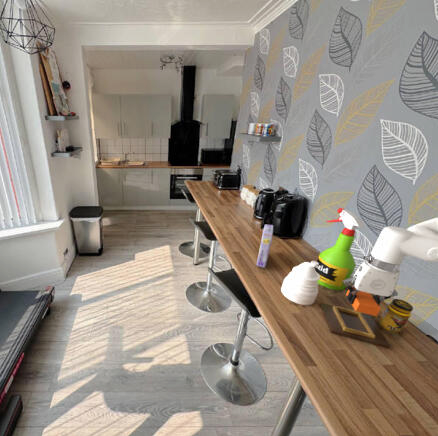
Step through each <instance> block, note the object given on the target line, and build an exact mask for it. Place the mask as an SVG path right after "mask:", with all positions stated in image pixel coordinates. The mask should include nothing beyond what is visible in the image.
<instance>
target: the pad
mask: <svg viewBox="0 0 438 436" xmlns="http://www.w3.org/2000/svg"><path fill="white" fill-rule="evenodd" d="M354 290H355V289H354ZM349 292H350V291H349V289H347V292H346V293H345V296H346V297H347V296H348V294H349ZM356 296H357V297H356V299H355V301H354V303H353V304H351V306H352V308H353V310H354V311H357V312H361V313H365V314H369V315H371V316H374V317H377V316H378V314H379V313H380V311H381V309H382V308H381V307H380V304H379V305H378V304H377V303H376V301H375V300H374V299H373V295H372V294H371V293H366V292H362V291H359V292H358V293H357V294H356Z"/></svg>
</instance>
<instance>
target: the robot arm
mask: <svg viewBox="0 0 438 436" xmlns="http://www.w3.org/2000/svg"><path fill="white" fill-rule="evenodd" d="M406 256H409V257H413V258H416V259H419V260H422V261H425V262H429V263H438V217H434V218H431V219H428V220H425V221H422V222H419V223H416V224H413V225H411V226H409V227H408V228H403V227H400V226H395V225H394V226H393V225H388V226H385V227H383V228H382V230H381V231H380V234H379V236H378V238H377V240H376V241H375V244H374V246H373V247H372V250H371V252H370V253H369V254H368V255H364V256H363V262H362V263H360V265H359V266H358V268H357V269H356V271H355V272H354V273H353V275H352V276H351V277H350V278H349V279H346V280H343V283H344V284H345V285H346V288H347V290H349V291H350V292H349V294H348V296H346V300H347V301H348V303H349V304H350V305H352V304H353V303H354V301H355V299H356V297H357V296H356V294H357V293H358V292H359V291H362V292H366V293H370V294H371V295H372V297H373V299H374V300H375V301H376V303H377V304H378V305H379V306H380V304H381V302H384V301H385V300H388V299H391V298H394V297H397V296H399V293H398V291H397V290H396V287H397V284H398V282H399V278H400V274H401V271H400V270H399V268H400V266H401V265H402V263H403V261H404V259H405V257H406ZM351 284H352V285H351ZM354 289H355V290H354Z"/></svg>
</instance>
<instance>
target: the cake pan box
mask: <svg viewBox="0 0 438 436" xmlns="http://www.w3.org/2000/svg"><path fill="white" fill-rule="evenodd" d="M262 230H263V231H262V237H261V241H260V244H259V249H258V255H257V260H256V265H255V266H256V267H258V268H259V267H260V268H263V269H266V267H267V263H268V258H269V255H270V250H271V245H272V242H273V235H274V225H273V224H264V227H263V229H262Z"/></svg>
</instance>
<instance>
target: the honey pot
mask: <svg viewBox="0 0 438 436" xmlns="http://www.w3.org/2000/svg"><path fill="white" fill-rule="evenodd" d="M318 264H319V263H318V262H317V260H316V261H315V260H311V261H310V262H309V261H305V262H302V263H300V264H299V265H295V266H294V267H293V268H292V270H291V271H290V272H289V273H288V274H287V276H285V277H284V279H283V282H282V284H281V288H280V291H281V294H282V295H283V296H284V297H285V298H286V299H288V300H289V301H291V302H293V303H294V304H298V305H302V306H311V305H313V304H314V303H315V301H316V299H317V296H318V294H319V284H318V282H317V281H318V280H320V275H319V274H318V273H317V272H316V271H315V268H314V267H317V266H318Z"/></svg>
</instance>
